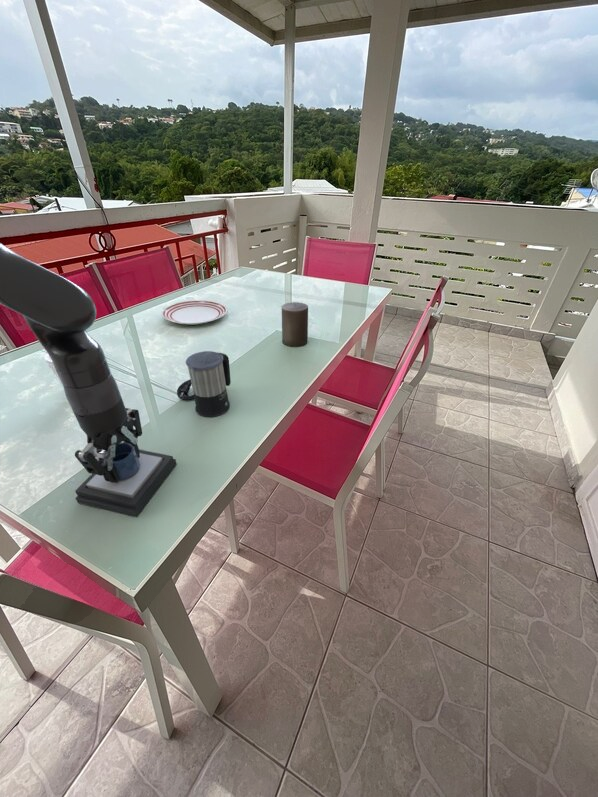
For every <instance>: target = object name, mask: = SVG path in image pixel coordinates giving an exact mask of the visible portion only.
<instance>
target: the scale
mask: <svg viewBox="0 0 598 797" xmlns="http://www.w3.org/2000/svg"><path fill="white" fill-rule="evenodd" d="M139 451H140V453H141V454H146V455H151V456H156V457H161V458H162V459H163V462H162V463H161V464H160V465H159V467H158V468H157V469H156V470H155V472H154V473H153V474H152V475H151V477H150V478H149V479H148V480H147V482H146V483H145V484H144V485H143V486H142V488H141V489H140V490H139V491H138V493H137V494H136V495H135V496H134V498H133V499H132V498H128V497H124V496H119V495H115V494H111V493H106V492H102V491H98V490H93V489H89V488H88V487H87V486H86V484H87V483H88V482H89V481H90V480H91V479H92V478H93V477H94V476H95V475H96V474H90V475H89V476H88V477H87V478H86V480H84V481H83V482H82V484H80V485H79V486H78V487H77V488H76V489H75V490H74V492H75V494H76V497H75V500H76V502H77V504H80V505H83V506H88V507H93V508H96V509H101V510H105V511H109V512H114V513H117V514H121V515H126V516H129V517H135V518H138V517H139V515H140V514H141V513H142V511H143V510H144V509H145V507H146V506H147V504H149V502H150V501H151V499H152V498H153V497H154V495H155V494H156V493H157V492H158V490H159V489H160V487H161V486H162V485H163V483H164V482H165V481H166V479H167V478H168V477H169V475H171V473H172V471H173V470H174V469H175V468H176V466H177V465H178V463H177V458H174V456H173V455H169V454H164V453H160V452H155V451H154V452H153V451H148V450H143V449H139Z"/></svg>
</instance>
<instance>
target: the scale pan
mask: <svg viewBox="0 0 598 797" xmlns="http://www.w3.org/2000/svg"><path fill="white" fill-rule="evenodd" d="M138 459H139V462H140V468H139V470H138V471H137V473H136V474H135V475H133V476H132V477H130V478H128V479H124V480H119V481H118V482H117V483H114V482H113V483H112V482H108V481H106V480H105V479H104V476H103V475H102V476H100V475H97V474H96V475H95V476H94V477H93V478H92V479H91V480H90V481H89V482H88V483H87V484H86V486H87V487H88V488H89V489H93V490H98V491H102V492H106V493H111V494H115V495H119V496H124V497H128V498H132V499H133V498H134V496H135V495H136V494H137V493H138V491H139V490H140V489H141V488H142V486H143V485H144V484H145V483H146V482H147V480H148V479H149V478H150V477H151V475H152V474H153V473H154V472H155V470H156V469H157V468H158V467H159V465H160V464H161V463H162V462H163V459H162V458H161V457H156V456H151V455H146V454H141V453H140V457H139V458H138Z"/></svg>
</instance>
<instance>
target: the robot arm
mask: <svg viewBox="0 0 598 797" xmlns="http://www.w3.org/2000/svg"><path fill="white" fill-rule="evenodd" d="M0 305H1V306H3V307H5V308H7V309H9V310H11V311H13V312H15V313H17V314H19V315H22V317H23V319H24V321H25V322H26V323H27V325H28V327H29V328H30V330H31V332H32V333H33V334H34V336H35V338H36V339H37V340H38V342H39V343H40V345H41V346H42V347H43V349H44V351H45V352H46V354H47V353H48V354H49V356H50V358H51V359H52V362H53V365H54V367H55V370H56V372H57V374H58V376H59V378H60V380H61V382H62V384H61V386H62V385H63V386H62V387H63V391H64V394H65V397H66V399H67V402H68V404H69V406H70V408H71V410H72V412H73V415H74V417H75V418H76V421H77V423H78V425H79V428H80V429H81V430H82V432H83V433H84V434H85V435H86V443H87V444H86V445H85V446H84V447H83V448H82V449H78V450H75V452H74V457H75V458H76V459H77V461H78V462H79V463H80V464H81V465H82V467H83V468H84V470H86V471H87V473H88V474H90V475H92V474H97V475H100V476H102V475H103V476H104V479H105V480H106V481H108V482H112V483H113V482H114V483H117V482H118V481H119V477H118V474H117V472H116V470H115V468H114V467H113V458H114V457H115V448H116V447H117V446H118V444H119V443H123V442H126V443H131V444H132V445H133V446H134V448H135V451H136V454H137V456H138V458H139V457H140V451H139V450H140V448H139V446H138V438H139V437H141V436H142V435H143V428H142V422H141V417H140V413H139V409H135V408H129V407H126V405H125V402H124V401H123V398H122V394H121V391H120V389H119V386H118V383H117V381H116V379H115V377H114V376H113V374H112V371H111V369H110V366H109V363H108V360H107V358H106V355H105V352H104V350H103V348H102V346H101V345H100V343H98V342H97V341H96V340H95V339H94V338H93V337H91V336H90V335H89V334H88V332H87V330H88V329H90V328H91V327H92V326H93V325H94V323H95V321H96V319H97V307H96V304H95V302H94V300H93V298H92V296H90V294H89V293H88V292H87V291H86V290H84V289H83V288H82V287H81V286H79V285H77V284H76V283H74V282H72V281H71V280H69V279H67V278H65V277H64V276H61V275H59V274H58V273H56V272H53V271H51V270H50V269H47V268H46V267H44V266H42V265H40V264H38V263H36V262H33V261H32V260H29V259H28V258H25V257H23V256H22V255H20V254H18V253H17V252H15V251H14V250H12V249H10V248H9V247H7V246H6V245H4V244H3V243H2V242H0ZM105 450H106V451H108V452H104V451H105ZM104 459H105V460H106V463H104Z"/></svg>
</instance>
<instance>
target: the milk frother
mask: <svg viewBox="0 0 598 797" xmlns="http://www.w3.org/2000/svg"><path fill="white" fill-rule="evenodd" d="M185 365H186V366H187V369H188V370H187V371H188V375H189V379H187V380H185V381H184V382H182V383H181V384H180V385H179V386H178V388H177V390H176V395H177V397H178V398H179V399H181V400H184V401H193V400H194V404H195V406H194V407H195V408H194V409H195V412H196V413H197V414H198V415H200V416H202V417H206V418H208V417H209V418H213V417H214V418H215V417H218V416H220V415H223V414H225V413H226V412H227V411H228V410H229V408H230V407H231V403H230V400H229V396H228V390H227V387H230V386H231V382H232V381H231V369H230V368H231V367H230V359H229V357H228V355H227V354H226V353H224V352H218V351H217V352H216V351H212V350H208V351H207V350H205V351H199V352H195V353H193V354H191V355H189V356H188V357H187V358H186V360H185ZM191 387H192V392H193V394H191V395H189V393H190V390H191Z"/></svg>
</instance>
